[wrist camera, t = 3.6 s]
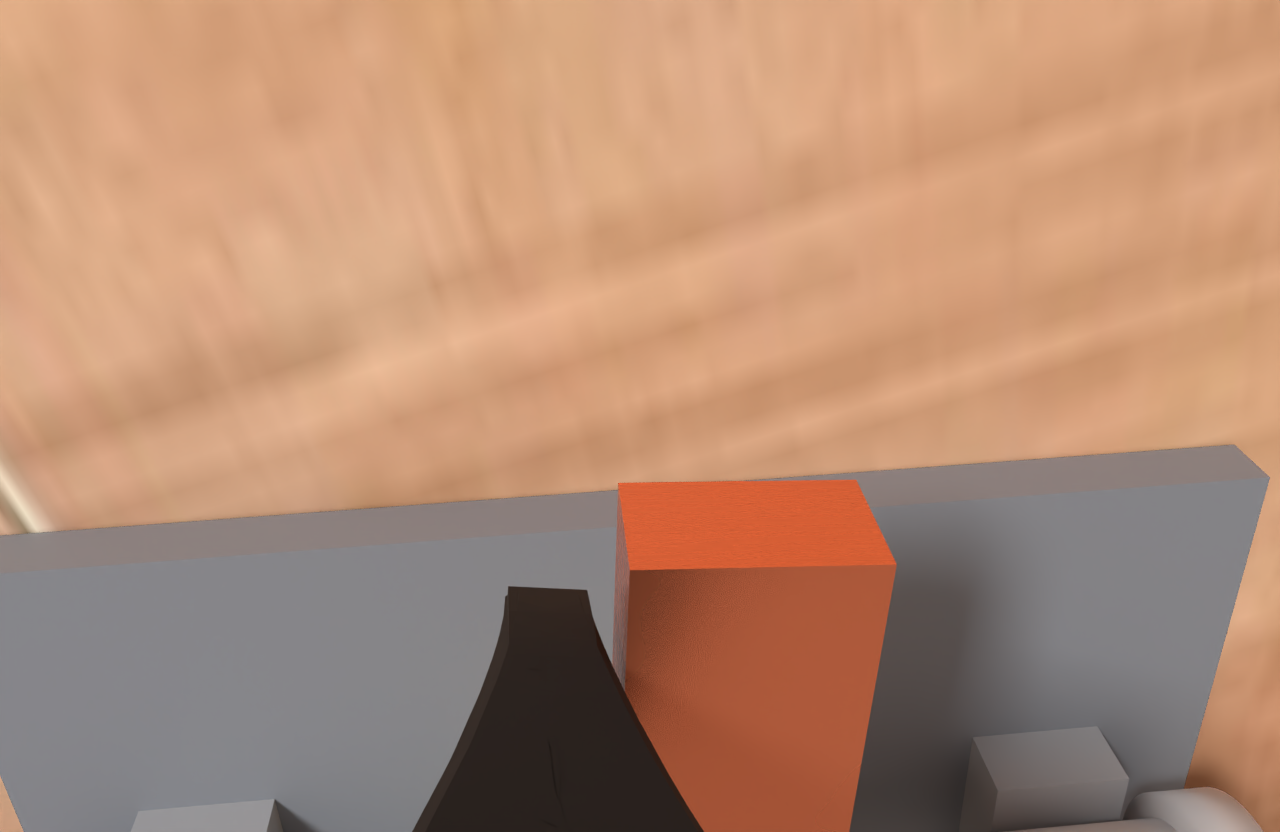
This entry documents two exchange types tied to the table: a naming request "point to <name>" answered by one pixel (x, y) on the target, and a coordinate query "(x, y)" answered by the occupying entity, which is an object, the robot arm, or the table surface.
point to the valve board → (585, 559)
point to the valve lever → (753, 643)
